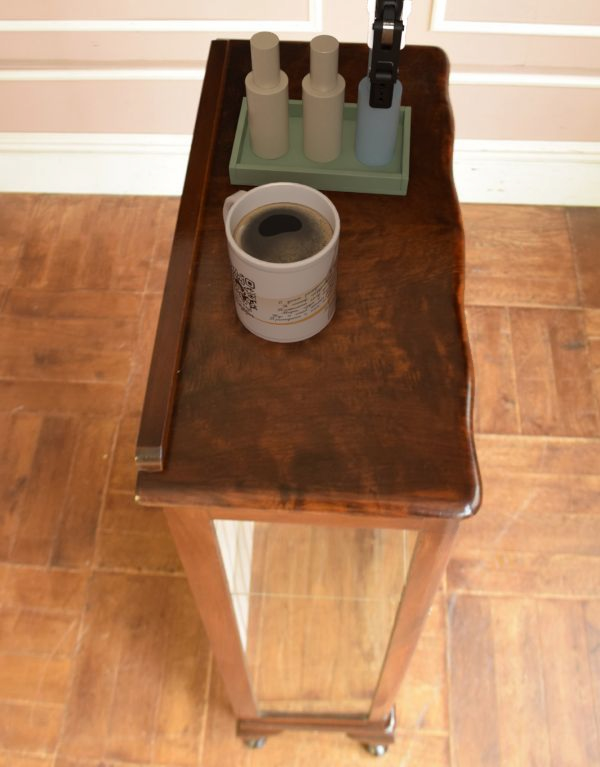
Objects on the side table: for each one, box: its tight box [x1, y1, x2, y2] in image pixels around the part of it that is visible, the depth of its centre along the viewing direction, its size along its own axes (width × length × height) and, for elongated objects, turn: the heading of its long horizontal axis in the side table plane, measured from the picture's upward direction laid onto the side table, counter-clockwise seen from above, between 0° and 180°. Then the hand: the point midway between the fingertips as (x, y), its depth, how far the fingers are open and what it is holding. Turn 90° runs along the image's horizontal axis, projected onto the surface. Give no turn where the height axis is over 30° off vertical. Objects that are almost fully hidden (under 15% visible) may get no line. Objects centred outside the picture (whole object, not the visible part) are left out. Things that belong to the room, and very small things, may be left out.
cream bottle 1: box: [244, 31, 290, 159], centre depth 80 cm, size 4×4×13 cm
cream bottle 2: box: [301, 34, 346, 163], centre depth 80 cm, size 4×4×13 cm
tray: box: [228, 96, 412, 196], centre depth 85 cm, size 19×11×2 cm, turn 84°
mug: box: [222, 182, 341, 344], centre depth 71 cm, size 10×12×11 cm
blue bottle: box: [354, 47, 403, 167], centre depth 80 cm, size 4×4×13 cm
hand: (381, 79), depth 77 cm, fingers open, 7 cm apart
